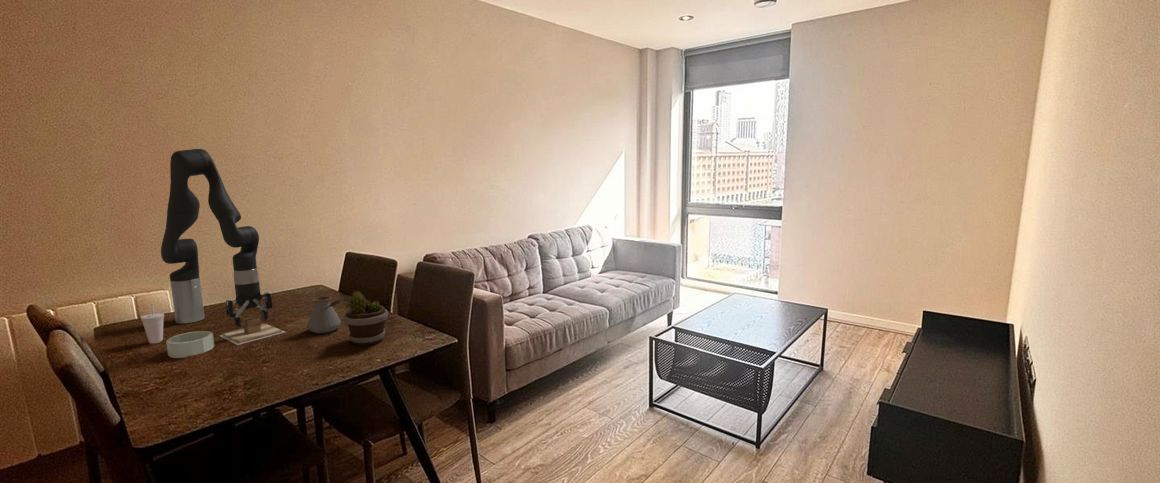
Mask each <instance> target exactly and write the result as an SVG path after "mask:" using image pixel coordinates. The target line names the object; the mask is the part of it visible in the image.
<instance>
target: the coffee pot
mask: <svg viewBox="0 0 1160 483" xmlns="http://www.w3.org/2000/svg"><path fill="white" fill-rule="evenodd" d="M331 300H332V297H331V296H328V295H327V296H326V295H325V296H317V297H314V298H312V303H313V304H314V306H313V309H312V312H311V313H310V316H309V319H308V322H307V325H306V328H307V329H308V331H310V332H312V333H315V334H330V333H333V332H334V331H335V330H337V329H338V328H339V327H340V325H341V324H342V323H341V322H342V320H341V319H340V317H339V315H338V314H337V312H336V310H335V309H334V307H333V306H337V307H341V306H342V305H343V303H344V302H343V301H342V300H339V299H338V300H335V301H333V302H332V303H331ZM340 302H341V304H340V305H339V303H340Z"/></svg>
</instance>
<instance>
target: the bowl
mask: <svg viewBox="0 0 1160 483" xmlns="http://www.w3.org/2000/svg"><path fill="white" fill-rule="evenodd" d="M165 342H166V343H165V344H166V349H167V350H166V351H167V356H168V357H170V358H171V359H183V358H185V359H186V358H188V357H192V356H196V355H200V354H203V353H207V352H209V351H210V350H213V348H214V347H215V340H214V333H213V332H212V331H209V330H198V331H188V332H185V333H180V334H175V335H174V336H172V337H171V336H170V337H169V338H168V339H167V340H166V341H165Z"/></svg>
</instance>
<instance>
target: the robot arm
mask: <svg viewBox="0 0 1160 483" xmlns="http://www.w3.org/2000/svg"><path fill="white" fill-rule="evenodd" d="M169 164H170V165H169V166H170V167H169V168H170V172H169V173H170V176H169V177H170V183H169V184H170V185H169V197H168V203H167V210H166V213H167V214H166V222H165V223H166V224H165V230H164V234H163V237H162V241H161V248H160V255H161V256H160V257H161V259H162V261H163V262H164V263H165V264H167V265H169V264H170V265H171V264H172V265H174V264H181V263H185V264H184V265H182V266H181V267H180V268H179V269H177V270H174V271H172V272H170V274H169V282H170V289H171V296H172V304H173V305H172V306H173V311H174V318H175V319H174V320H175V323H176V324H190V323H195V322H200V321H202V320H204V319H205V318H206V317H205V310H204V303H203V295H202V286H201V279H200V266H199V251H198V249H199V248H198V246H197V243H196V241H195V239H193V238H181V236H182V235H183V234H184V233H185V232H187V230H189V228H191V227H192V226H193V225H194V224H195V223H196V222H197V220H198V218H199V212H200V207H201V206H200V200H199V198H198V197H197V196H196V195H195V193H194V192H193V191H192V190H191V189H190V187H189V182H188V181H189V178H190V177H195V176H201V175H203V176H204V177H205V178H206V180H207V182H208V185H209V187H208V189H209V190H208V199H207V200H208V201H207V202H208V206H209V209H210V211H211V212H212V214H213V215H214V216H215V219H216V220H217V222H218V224H219V227H220V231H221V234H222V238H223V241H224V243H225V244H227V245H228V246H229V247H231V248H234V249H235V248H237V249H238V248H240V251H239V252H237V253H235V254H234V255H232V266H233V284H234V291H235V299H230V300H229V299H226V300H225V309H226V316H227V317H229V318H233V324H234V326H235V327H236V328H241V327H242V324H241V317H240V316H241V314H242V313H244V311H245V310H250V309H252V308H259V309H260V310H261V311H260V314H261V320H262V321H263V322H266V321H267V320H268V319H269V318H268V317H269V315H268V314H269V313H268V311H269V310H270V309H273V303H272V296H271V293H269V292H264V293H261V286H260V275H259V272H258V265H257V253H258V248H259V241H260V236H259V232H258V230H257V229H256V228H255V227H253V226H251V225H247V226H239V227H238V226H237V223H238V222H240V221H241V219H242V216H241V215H242V214H241V213H240V211H239V210H238V208H237V207H236V205H235V204H234V202H233V200H232V199H231V198H230V195H229V194H228V191H227V190H226V188H225V185H224V183H223V182H224V181H223V179H222V177H221V174H220V173H219V171H218V168H217V166H216V163H215V162H214V159H213V158H212V156H211V154H209V152H208V151H206V149H203V148H193V149H191V148H190V149H184V150H176V151H174V152H173V153H172V154H171V157H170V163H169ZM262 299H263V300H264V302H265V305H264V304H263V303H262V302H261V300H262ZM235 304H236V305H237V306H236V308H235V310H234V306H235Z"/></svg>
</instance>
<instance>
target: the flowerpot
mask: <svg viewBox="0 0 1160 483" xmlns="http://www.w3.org/2000/svg"><path fill="white" fill-rule="evenodd" d="M349 298H350V299H348V301H347V303H348V304H349V306H348V307H347V308H348V309H347V310H346V313H345V314H344V315H343V319H342V321H343V322H344V323H345V324H346V325H347V328H348V330H349V332H350V333H349V334H348V337H349V338H348V339H349V340H350V342H352V343H353V344H354V345H358V346H370V345H375V344H378V343H380V342H382V340H383V338H385V335H386V329H385V325H386V320H387V319H388V317H389V311H388V310H387V309H386V308H385V307H384V305H380V301H378V302H377V300H375V301H373V302H371V300H370V299H367V297H366V296H365V295H364V294H363V293H362V292H360V290H358V291H355V290H353V292H352V293H351V295H349Z"/></svg>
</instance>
